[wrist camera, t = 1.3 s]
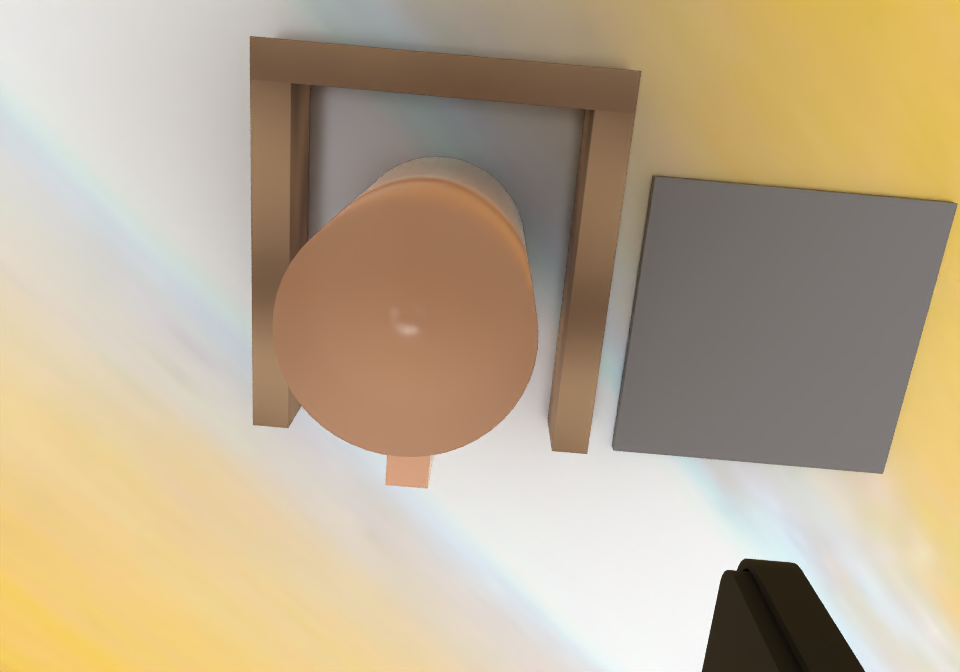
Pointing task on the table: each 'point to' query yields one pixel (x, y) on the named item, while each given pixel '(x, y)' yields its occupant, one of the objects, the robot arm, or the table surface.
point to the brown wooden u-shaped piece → (601, 91)
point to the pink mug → (411, 315)
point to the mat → (776, 322)
